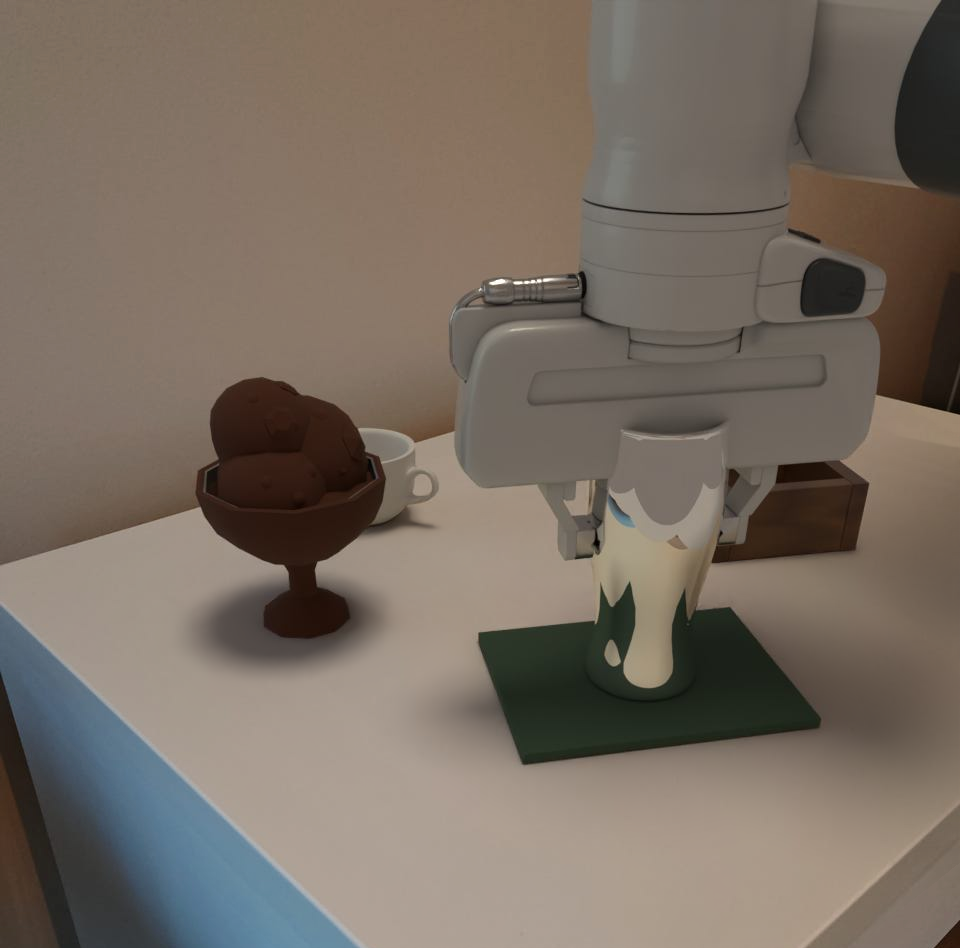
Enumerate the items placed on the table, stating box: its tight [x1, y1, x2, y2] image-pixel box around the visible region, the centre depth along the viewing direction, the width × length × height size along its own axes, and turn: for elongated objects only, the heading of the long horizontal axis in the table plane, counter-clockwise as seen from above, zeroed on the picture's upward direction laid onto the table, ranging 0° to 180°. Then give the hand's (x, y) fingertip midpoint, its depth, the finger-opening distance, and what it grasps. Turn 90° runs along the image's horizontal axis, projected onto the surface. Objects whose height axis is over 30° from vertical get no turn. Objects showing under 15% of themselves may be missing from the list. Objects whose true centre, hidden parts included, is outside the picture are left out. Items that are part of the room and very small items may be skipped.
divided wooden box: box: [711, 460, 870, 563], centre depth 76 cm, size 11×20×5 cm, turn 11°
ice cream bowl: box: [194, 376, 386, 639], centre depth 59 cm, size 11×11×15 cm
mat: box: [477, 606, 822, 764], centre depth 56 cm, size 16×12×1 cm
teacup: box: [357, 427, 440, 526], centre depth 74 cm, size 10×8×5 cm
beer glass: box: [585, 420, 731, 701], centre depth 52 cm, size 7×7×15 cm
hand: (651, 547), depth 52 cm, fingers closed on beer glass, 7 cm apart
